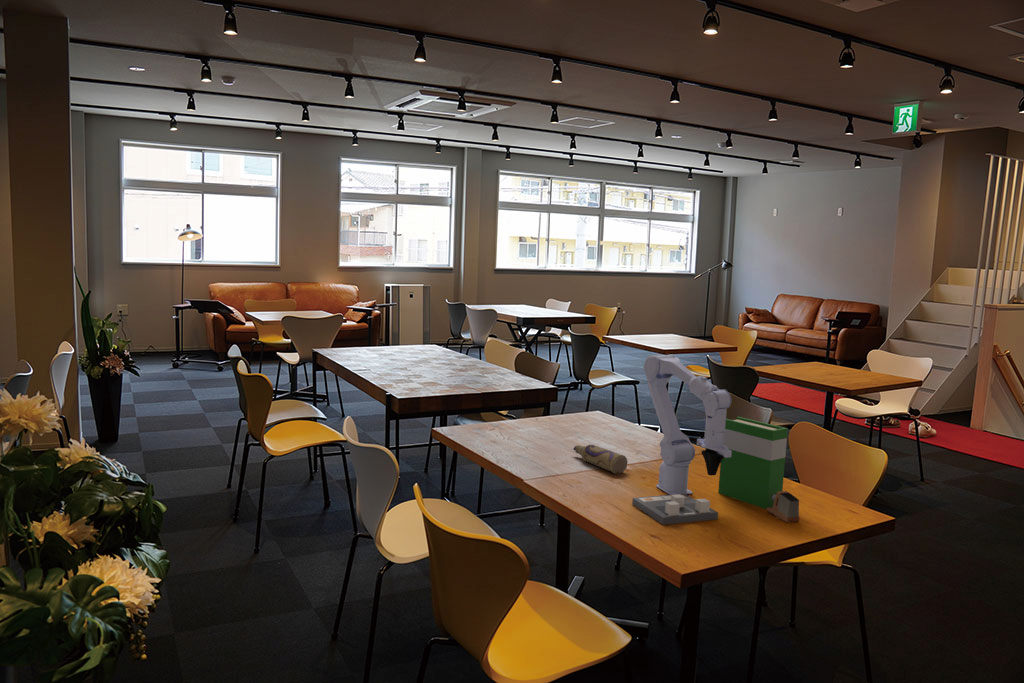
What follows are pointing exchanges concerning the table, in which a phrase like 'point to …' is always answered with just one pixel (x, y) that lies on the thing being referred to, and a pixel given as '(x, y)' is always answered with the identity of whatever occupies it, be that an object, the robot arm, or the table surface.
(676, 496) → the tab middle
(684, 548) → the table surface
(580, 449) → the decorative bottle
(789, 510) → the electronic device
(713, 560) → the table surface
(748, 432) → the hardback book
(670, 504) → the tab
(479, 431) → the table surface
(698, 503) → the tab
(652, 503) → the switch board
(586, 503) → the table surface
